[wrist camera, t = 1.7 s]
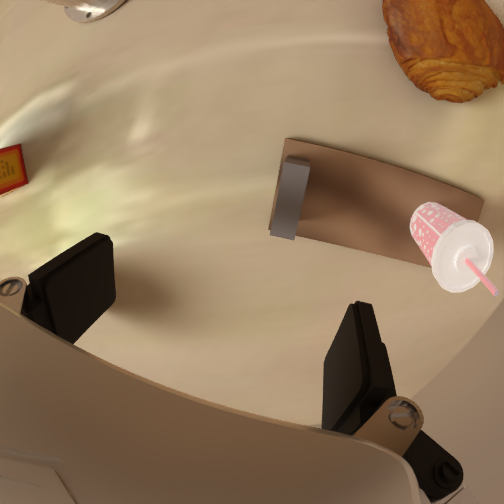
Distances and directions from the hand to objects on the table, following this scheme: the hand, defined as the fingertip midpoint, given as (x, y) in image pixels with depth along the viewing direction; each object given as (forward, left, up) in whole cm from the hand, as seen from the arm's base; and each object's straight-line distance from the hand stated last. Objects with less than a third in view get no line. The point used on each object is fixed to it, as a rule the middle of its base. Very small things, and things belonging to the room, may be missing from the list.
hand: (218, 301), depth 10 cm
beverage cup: (0, +16, -20) cm, 25 cm away
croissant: (-20, +14, -20) cm, 32 cm away
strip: (0, +11, -19) cm, 22 cm away
